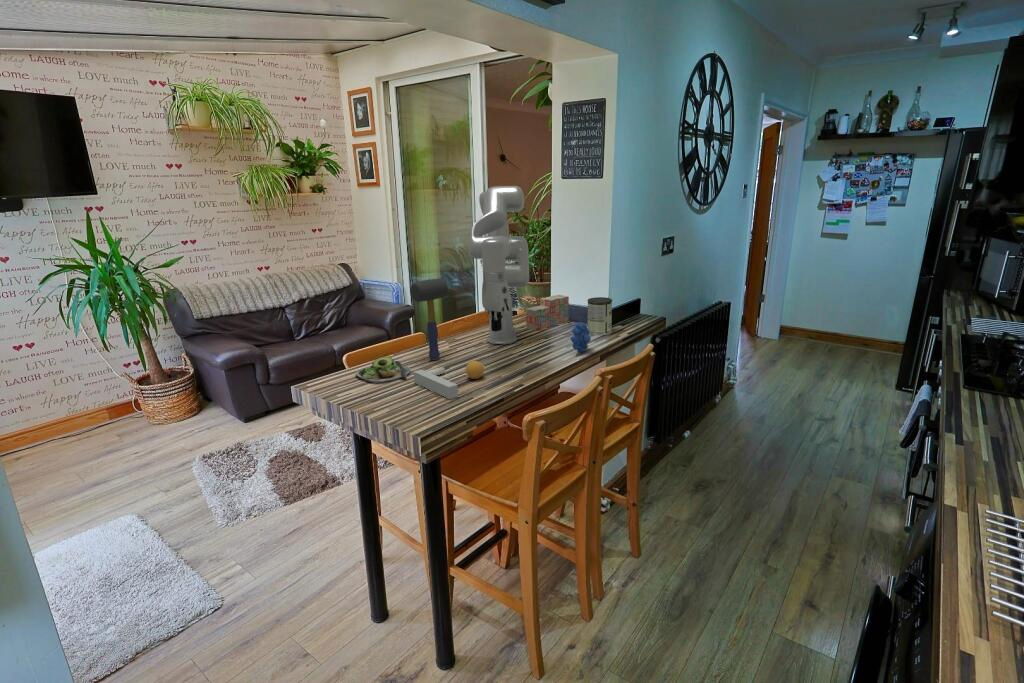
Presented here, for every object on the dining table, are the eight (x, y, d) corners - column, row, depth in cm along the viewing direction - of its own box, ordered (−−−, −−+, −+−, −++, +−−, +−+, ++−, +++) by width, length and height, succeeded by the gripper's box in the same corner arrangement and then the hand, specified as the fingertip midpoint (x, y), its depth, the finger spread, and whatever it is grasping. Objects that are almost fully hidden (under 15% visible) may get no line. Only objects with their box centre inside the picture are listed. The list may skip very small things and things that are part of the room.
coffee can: (587, 328, 230) (587, 297, 226) (611, 328, 228) (611, 297, 224) (587, 335, 220) (587, 302, 216) (612, 335, 218) (612, 302, 215)
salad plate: (425, 375, 180) (424, 362, 179) (380, 390, 168) (379, 376, 167) (393, 363, 193) (392, 351, 192) (349, 376, 181) (348, 364, 180)
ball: (459, 373, 173) (471, 376, 178) (471, 380, 169) (483, 382, 174) (466, 356, 173) (478, 360, 177) (478, 363, 169) (490, 366, 174)
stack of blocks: (535, 331, 229) (535, 303, 225) (526, 328, 233) (525, 301, 230) (568, 322, 242) (568, 295, 239) (559, 319, 247) (558, 294, 243)
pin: (445, 373, 179) (424, 380, 174) (441, 373, 181) (420, 380, 175) (443, 366, 179) (422, 373, 173) (440, 367, 181) (419, 373, 175)
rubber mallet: (426, 365, 188) (419, 283, 180) (414, 361, 194) (407, 280, 185) (454, 357, 196) (448, 278, 188) (442, 353, 202) (436, 276, 193)
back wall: (422, 380, 174) (421, 369, 173) (458, 396, 159) (457, 384, 158) (414, 383, 172) (413, 371, 171) (450, 399, 157) (449, 387, 156)
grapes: (582, 358, 191) (582, 326, 187) (566, 355, 195) (566, 324, 191) (598, 350, 199) (598, 319, 196) (583, 347, 203) (583, 317, 200)
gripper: (518, 277, 170) (519, 332, 175) (488, 273, 181) (491, 324, 186) (500, 280, 165) (502, 336, 170) (471, 276, 176) (474, 328, 181)
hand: (496, 330), depth 178 cm, fingers closed
